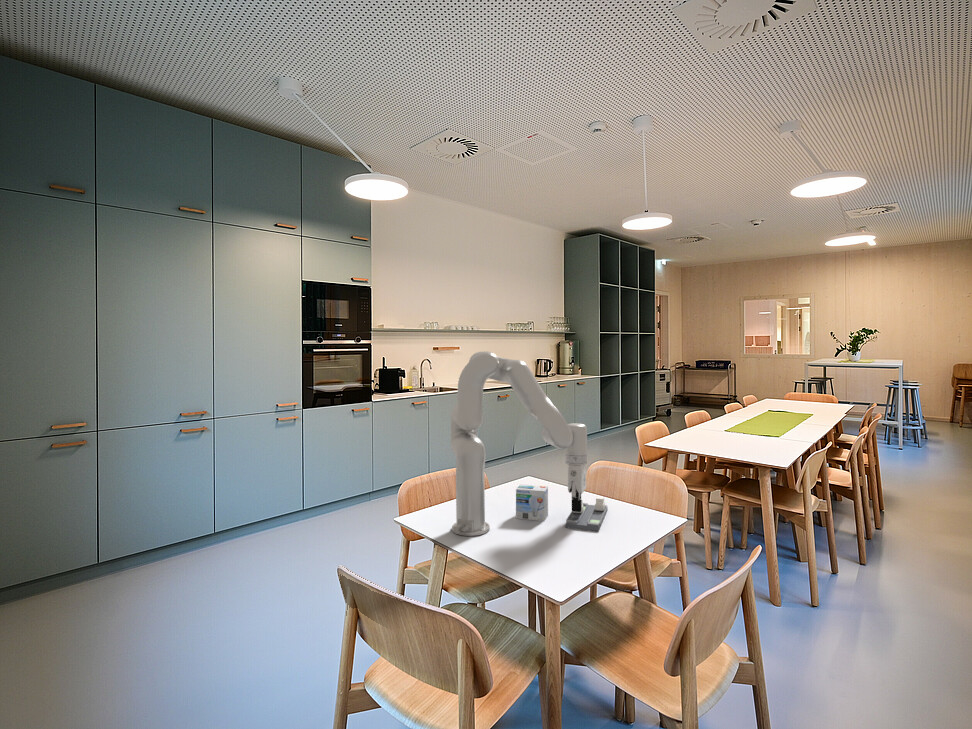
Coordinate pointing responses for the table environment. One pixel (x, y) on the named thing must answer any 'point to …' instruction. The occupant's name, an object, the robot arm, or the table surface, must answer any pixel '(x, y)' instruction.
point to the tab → (600, 504)
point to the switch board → (586, 518)
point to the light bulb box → (532, 502)
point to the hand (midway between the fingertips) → (576, 510)
